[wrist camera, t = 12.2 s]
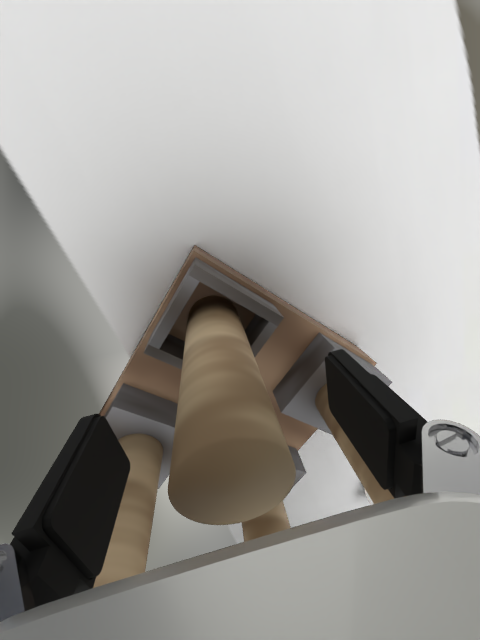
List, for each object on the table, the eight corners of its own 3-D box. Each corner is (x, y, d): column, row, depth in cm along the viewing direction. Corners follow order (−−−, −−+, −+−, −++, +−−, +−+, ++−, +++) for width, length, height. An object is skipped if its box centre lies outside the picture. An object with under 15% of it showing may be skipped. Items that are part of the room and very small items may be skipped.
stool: (254, 465, 29) (303, 687, 16) (98, 414, 23) (-45, 701, 10) (357, 346, 25) (553, 513, 11) (194, 244, 19) (180, 333, 5)
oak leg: (247, 310, 18) (320, 461, 7) (221, 349, 19) (250, 533, 8) (204, 285, 17) (211, 420, 6) (178, 328, 18) (144, 510, 7)
